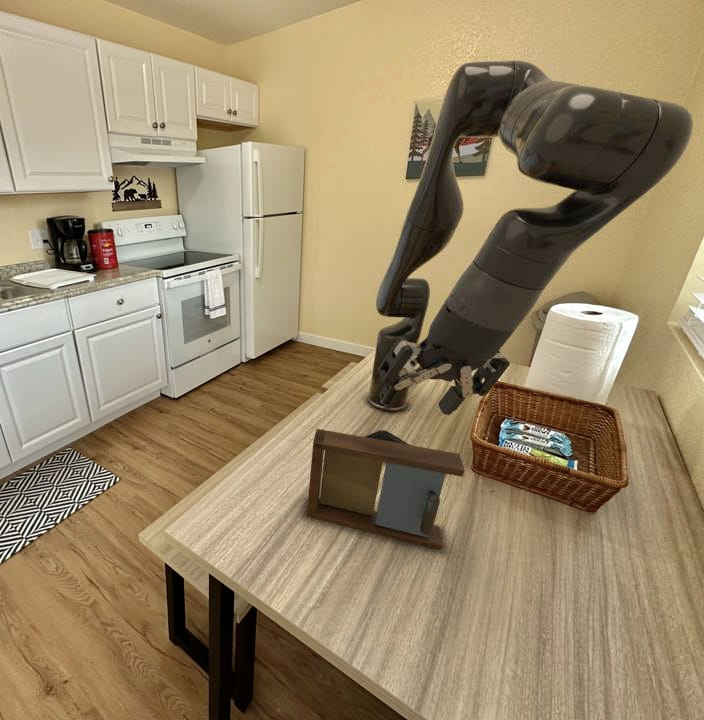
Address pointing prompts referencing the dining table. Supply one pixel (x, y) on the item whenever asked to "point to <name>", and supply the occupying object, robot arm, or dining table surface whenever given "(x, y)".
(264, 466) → the dining table surface
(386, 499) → the closet door
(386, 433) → the phone
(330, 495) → the frame
